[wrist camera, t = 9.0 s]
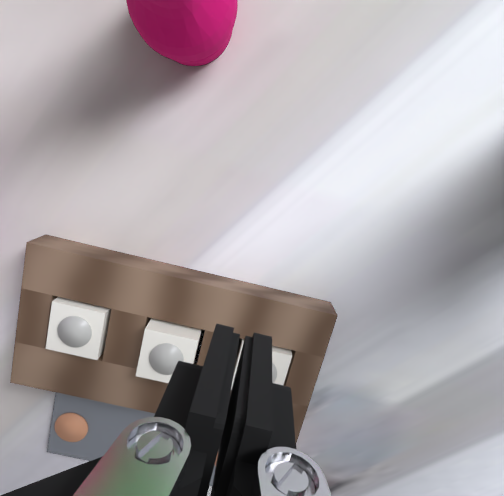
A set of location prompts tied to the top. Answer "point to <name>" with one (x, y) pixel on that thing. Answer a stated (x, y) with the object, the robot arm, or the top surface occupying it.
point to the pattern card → (89, 427)
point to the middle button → (166, 349)
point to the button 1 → (77, 328)
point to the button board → (158, 307)
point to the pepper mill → (185, 27)
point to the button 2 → (279, 363)
